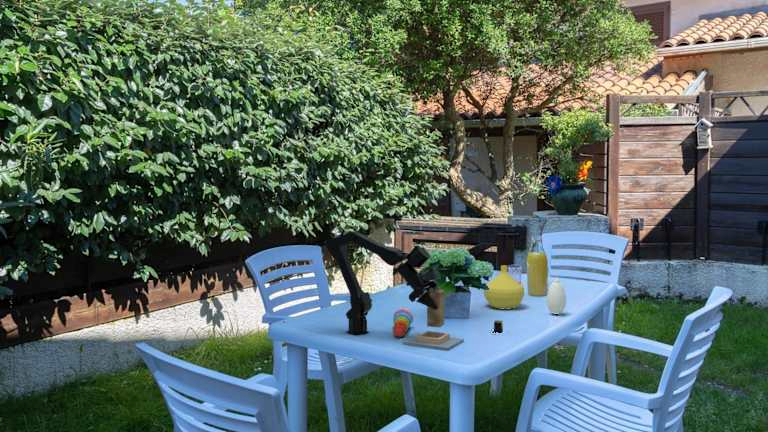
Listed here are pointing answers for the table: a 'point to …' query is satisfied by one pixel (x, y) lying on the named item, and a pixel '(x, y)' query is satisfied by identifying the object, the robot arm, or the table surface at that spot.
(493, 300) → the vase
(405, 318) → the stacking toy
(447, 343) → the grey board with frame
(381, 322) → the table surface
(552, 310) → the sauce bottle
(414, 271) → the robot arm
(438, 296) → the walnut pillar
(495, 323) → the black block on base
